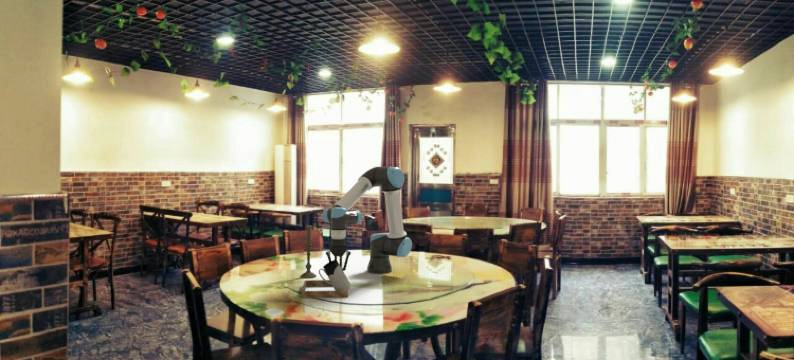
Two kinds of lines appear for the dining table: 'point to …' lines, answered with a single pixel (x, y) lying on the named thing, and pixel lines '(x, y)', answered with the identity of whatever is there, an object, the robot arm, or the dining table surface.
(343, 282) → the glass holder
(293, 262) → the dining table surface
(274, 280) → the dining table surface
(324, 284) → the corral
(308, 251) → the candlestick holder
